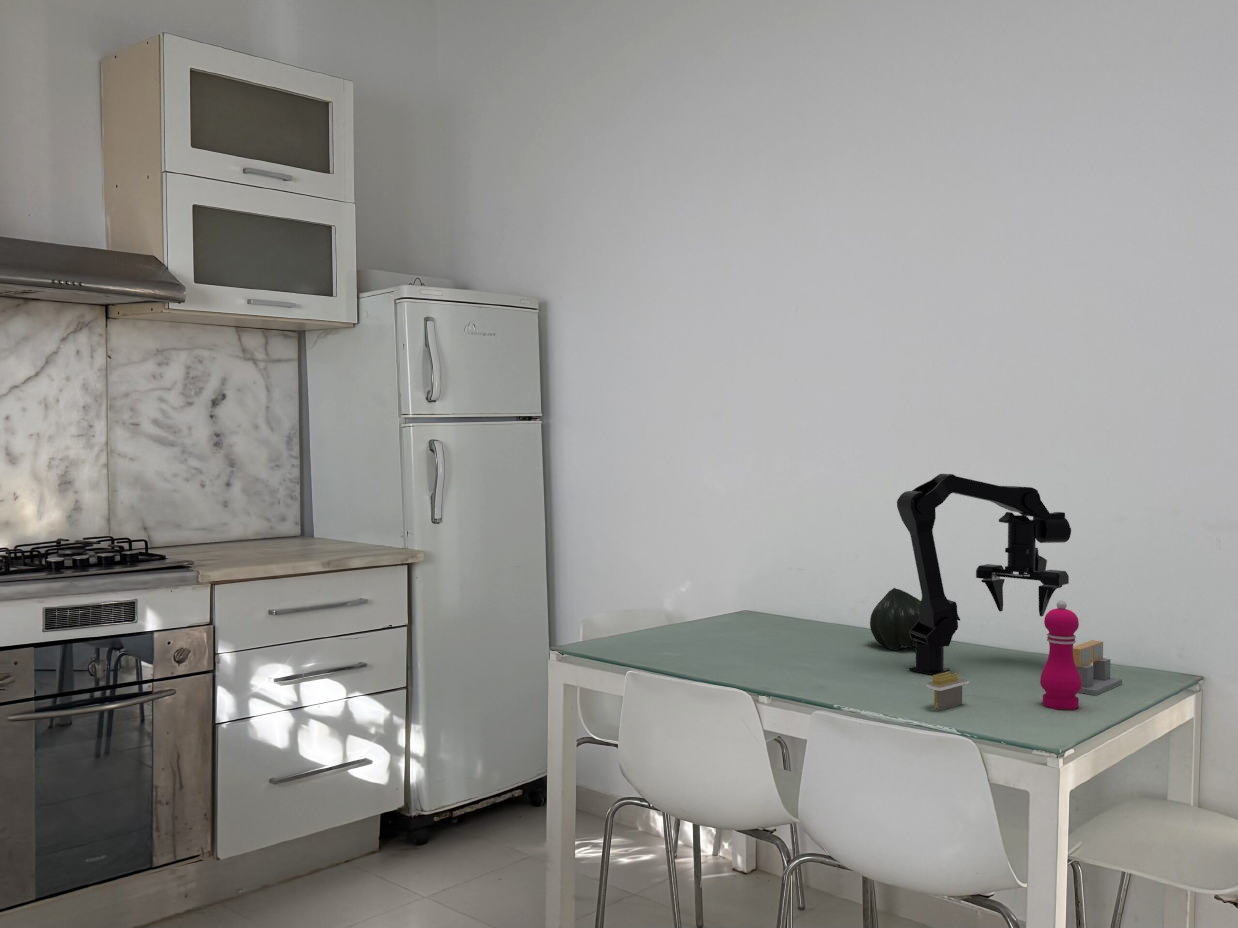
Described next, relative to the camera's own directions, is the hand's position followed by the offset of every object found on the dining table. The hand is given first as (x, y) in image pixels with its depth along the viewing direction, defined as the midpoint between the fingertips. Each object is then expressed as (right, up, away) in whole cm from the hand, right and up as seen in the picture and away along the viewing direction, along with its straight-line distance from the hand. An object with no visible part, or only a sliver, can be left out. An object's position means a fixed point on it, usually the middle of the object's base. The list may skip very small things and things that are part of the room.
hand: (1020, 613), depth 226 cm
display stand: (+7, -12, -17) cm, 22 cm away
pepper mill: (-5, -13, -33) cm, 36 cm away
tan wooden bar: (+7, -7, -17) cm, 20 cm away
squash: (-20, -12, +22) cm, 32 cm away
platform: (-27, -13, -34) cm, 45 cm away
